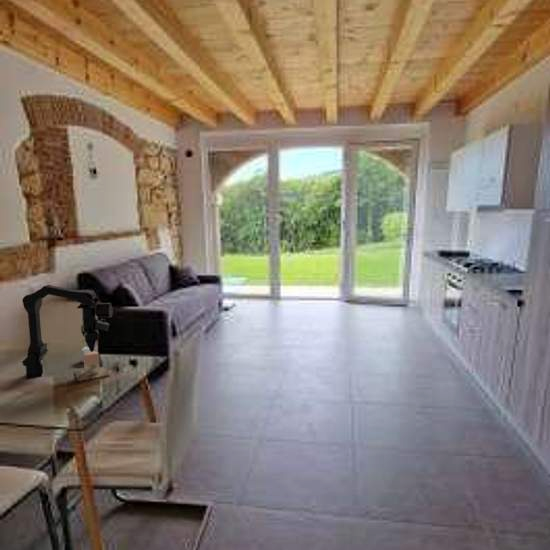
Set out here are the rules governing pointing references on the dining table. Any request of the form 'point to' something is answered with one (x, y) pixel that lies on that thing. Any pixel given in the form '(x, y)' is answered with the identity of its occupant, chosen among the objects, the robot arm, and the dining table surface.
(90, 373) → the birch brick
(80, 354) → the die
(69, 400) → the dining table surface
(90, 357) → the terracotta brick
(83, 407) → the dining table surface
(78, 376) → the walnut board
